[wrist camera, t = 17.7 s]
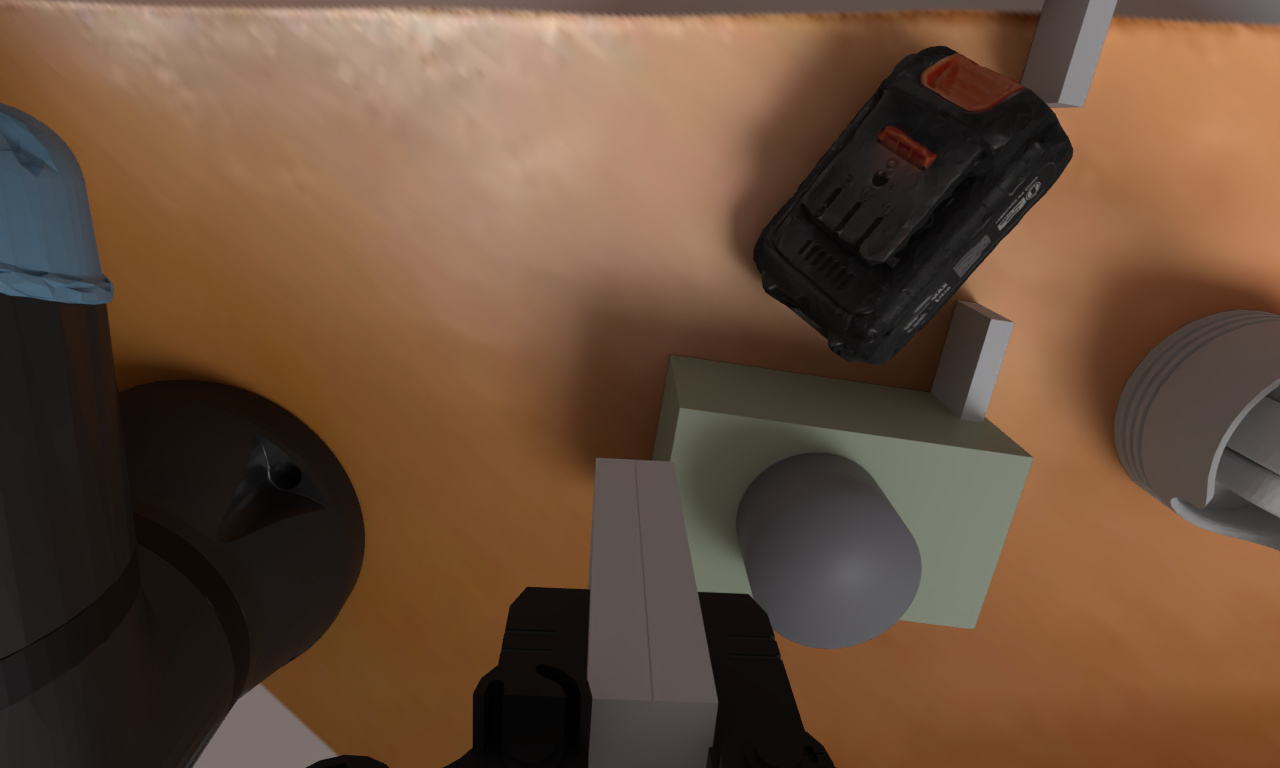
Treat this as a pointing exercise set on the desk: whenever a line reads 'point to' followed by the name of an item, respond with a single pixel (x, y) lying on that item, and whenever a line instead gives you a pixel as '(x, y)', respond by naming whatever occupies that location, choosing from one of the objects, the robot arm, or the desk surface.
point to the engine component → (1209, 424)
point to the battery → (910, 202)
